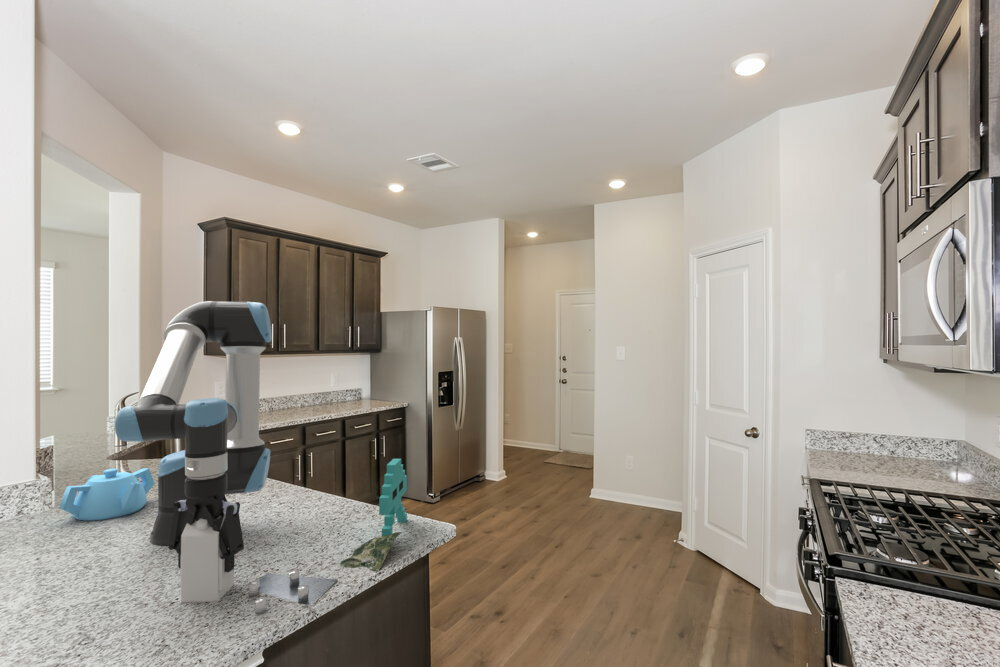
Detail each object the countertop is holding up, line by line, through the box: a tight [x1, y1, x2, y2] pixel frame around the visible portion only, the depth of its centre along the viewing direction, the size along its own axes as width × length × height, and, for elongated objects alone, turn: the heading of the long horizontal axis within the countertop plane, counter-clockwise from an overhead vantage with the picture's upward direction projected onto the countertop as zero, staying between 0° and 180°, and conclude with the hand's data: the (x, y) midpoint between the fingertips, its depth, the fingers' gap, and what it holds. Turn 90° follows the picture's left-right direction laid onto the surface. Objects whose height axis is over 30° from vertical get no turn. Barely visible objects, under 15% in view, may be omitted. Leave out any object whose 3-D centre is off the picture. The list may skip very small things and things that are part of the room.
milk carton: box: [180, 509, 235, 603], centre depth 99 cm, size 7×7×19 cm
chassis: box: [247, 569, 339, 615], centre depth 98 cm, size 17×17×4 cm
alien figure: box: [378, 458, 408, 536], centre depth 133 cm, size 20×2×20 cm, turn 177°
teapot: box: [58, 467, 156, 521], centre depth 148 cm, size 19×19×14 cm
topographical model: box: [339, 531, 403, 573], centre depth 117 cm, size 16×15×2 cm
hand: (206, 584), depth 98 cm, fingers closed on milk carton, 8 cm apart
